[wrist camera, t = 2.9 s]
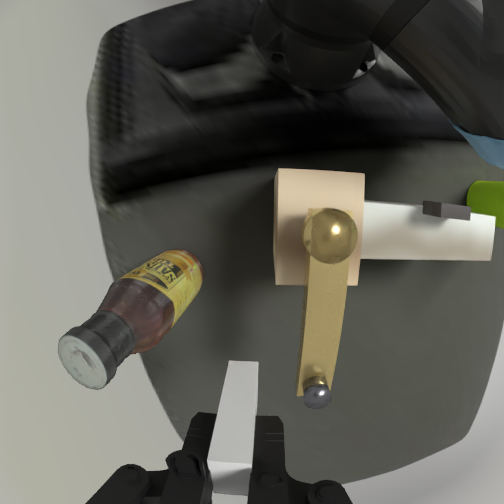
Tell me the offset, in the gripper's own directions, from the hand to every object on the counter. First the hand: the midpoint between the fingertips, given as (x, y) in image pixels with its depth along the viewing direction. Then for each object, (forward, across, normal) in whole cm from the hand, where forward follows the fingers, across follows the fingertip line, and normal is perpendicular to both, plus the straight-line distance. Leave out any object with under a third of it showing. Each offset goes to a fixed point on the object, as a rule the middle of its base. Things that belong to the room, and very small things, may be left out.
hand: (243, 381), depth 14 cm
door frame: (+19, +12, +7) cm, 23 cm away
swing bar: (+5, +5, +2) cm, 7 cm away
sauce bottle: (+19, -9, 0) cm, 21 cm away
